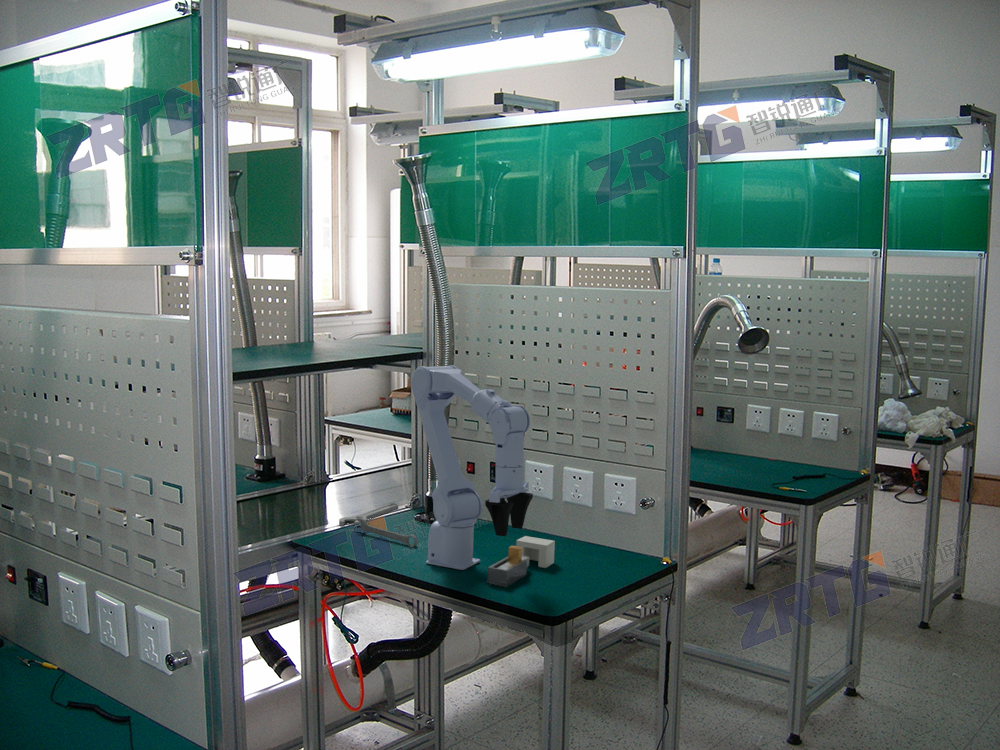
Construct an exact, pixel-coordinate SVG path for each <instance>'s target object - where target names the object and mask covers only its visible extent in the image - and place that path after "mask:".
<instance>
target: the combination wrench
mask: <svg viewBox="0 0 1000 750" xmlns="http://www.w3.org/2000/svg"><path fill="white" fill-rule="evenodd" d="M357 520H358V521H359V522H360V523H361V526H360V529H361V530H363V531H366V532H365V533H368V532H369V533H371V534H375V535H377V536H378V535H379V536H382V537H385V538H388V539H391V540H395V541H398V542H401V543H404V544H406V545H407V546H408V547H412V548H413V547H416V546H417V545H418V538H417V536H416V535H414V534H409V535H404V534H401V533H397V532H393V531H390V530H386V529H382V528H378V527H376V526H373V525H372V526H371V525H369V523H368V524H367V522H366V520H365V519H361V518H359V519H357ZM355 527H356V526H355V525H354V528H355ZM410 538H412V539H413V540H414V544H411V543H410Z"/></svg>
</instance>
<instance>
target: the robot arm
mask: <svg viewBox="0 0 1000 750" xmlns="http://www.w3.org/2000/svg"><path fill="white" fill-rule="evenodd" d="M410 386H411V390H412V393H413V398H414V401H415V404H416V407H417V408H418V413H419V417H420V420H421V424H422V428H423V430H424V434H425V439H426V442H427V445H428V449H429V451H430V452H429V453H430V456H431V459H432V463H433V466H434V469H435V472H436V477H437V480H438V484H437V486H436V487H435V488H434V490H433V492H432V493H431V498H432V503H433V505H432V506H433V507H432V508H433V509H432V511H433V515H434V518H435V521H434V522H432V523H431V525H430V527H429V531H428V539H427V541H428V542H427V545H428V547H427V560H426V561H425V563H426V564H428V565H433V566H438V567H445V568H450V569H454V570H459V571H465V570H467V569H468V568H470V567H472V566H474V565H476V564H478V563H480V562H481V559H480V558H474V557H473V555H474V533H475V531H474V530H475V528H474V526H475V524H477V522H478V520H477V519H479V518H480V517H481V515H482V512H483V501H482V498H481V496H480V494H478V492H477V490H476V487H475V484H474V483H473V482H471V481H470V480H468V479H467V478H466V477H465V476H463V473H462V469H461V466H460V463H459V460H458V456H457V452H456V449H455V446H454V445H455V444H454V442H453V439H452V435H451V433H450V428H449V425H448V421H447V418H446V415H445V409H446V407H447V406H448V405H450V404H451V402H452V401H453V399H454V397H455V396H457V397H459V398H461V399H463V400H464V401H466V402H467V403H470V406H471V407H470V408H471V410H472V412H473V413H474V414H476V415H477V416H478V417H479V418H481V419H482V420H484V421H485V422H486V423H488V424H489V428H490V430H491V433H492V441H493V443H494V444H495V486H494V488H492V490H491V491H489V493H488V494H489V497H488V499H486V500H485V503H484V504H485V507H486V509H487V511H488V513H489V515H490V518H491V520H492V524H493V528H494V532H495V535H496V536H498V537H499V536H501V537H506V536H507V535H508V531H509V523H511V527H512V529H518V530H519V529H520V530H522V529H523V527H524V523H525V519H526V515H527V510H528V508H529V506H530V503H531V501H532V499H533V497H534V495H533V493H531V492H529V489H530V488H529V485H530V484H529V482H528V481H524V478H525V477H524V469H525V468H524V465H525V463H524V457H525V456H524V453H525V452H524V451H525V449H524V448H525V447H524V446H525V444H524V442H525V440H524V437H525V435H524V434H525V433H527V431H528V429H529V427H530V423H531V419H530V415H529V412H528V410H527V409H526V408H525V407H524V406H522V405H520V404H519V405H512V404H510V401H508V400H507V399H505V400H504V399H503V398H501V397H500V396H499V395H497V394H496V391H495V390H494V389H491V388H488V389H486V388H485V389H480V388H479V387H478V386H476V385H475V384H474V383H473V382H472V381H470V380H469V379H468V378H467V377H466V376H464V375H463V371H462V369H461V368H460V369H459V368H458V367H457V366H455V365H453V364H451V365H443V366H442V365H440V366H437V365H436V366H424V365H423V366H422V365H421V366H418V367H416V369H414V372H413V375H412V378H411V380H410ZM509 521H510V522H509Z"/></svg>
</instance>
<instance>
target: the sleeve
mask: <svg viewBox="0 0 1000 750" xmlns="http://www.w3.org/2000/svg"><path fill="white" fill-rule="evenodd" d="M507 562H508V556H506V557H504V558H502V559H500V560H499V561H497V562H495V563H493V564H491V565H489V566H488V567H487V578H486V579H487V581H486V582H487V583H489V584H488V585H492V584H494V586H497V585H498V586H497V587H502V586H503V588H508V587H509V586H511V585H513V584H515V583H516V582H517V581H519V580H521V579H523V578H524V577H526V576H527V569H528V567H527V559H524V560H522V561H520V562H518V563H517V564H515V565H513V566H511V567H510V568H508V569H506V570H504V569H499V568H498V567H499V566H501V565H503V564H505V563H507ZM487 583H486V584H487Z"/></svg>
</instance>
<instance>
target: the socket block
mask: <svg viewBox="0 0 1000 750" xmlns="http://www.w3.org/2000/svg"><path fill="white" fill-rule="evenodd" d="M555 543H556V541H555V540H551V539H545V538H539V537H532V536H528V535H523V537H520V538H518V539H516V544H515V546H518V547H522V556H526V557H529V561H535V562H538V563H537V564H538V567H539V568H544V569H547V568H548V567H550V566H551V565H553V564H554V563H555V548H556V547H555V546H556V545H555Z"/></svg>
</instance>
